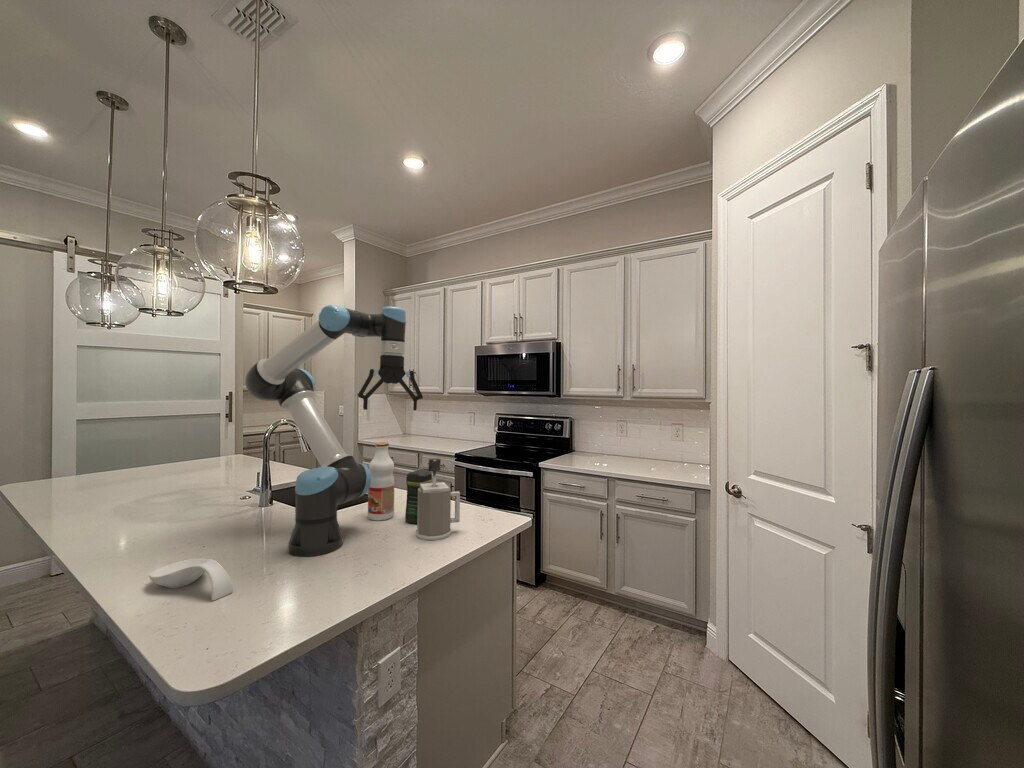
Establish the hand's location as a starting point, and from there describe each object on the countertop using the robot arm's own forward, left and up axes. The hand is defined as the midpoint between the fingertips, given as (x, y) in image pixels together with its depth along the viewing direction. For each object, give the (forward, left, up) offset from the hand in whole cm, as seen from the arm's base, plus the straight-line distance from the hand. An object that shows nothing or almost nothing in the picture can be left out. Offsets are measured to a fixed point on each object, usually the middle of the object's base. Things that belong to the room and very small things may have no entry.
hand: (389, 420), depth 136 cm
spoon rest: (-47, -18, -39) cm, 64 cm away
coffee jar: (+12, +16, -39) cm, 43 cm away
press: (+16, 0, -39) cm, 42 cm away
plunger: (+15, 0, -34) cm, 37 cm away
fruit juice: (-1, +24, -39) cm, 45 cm away
